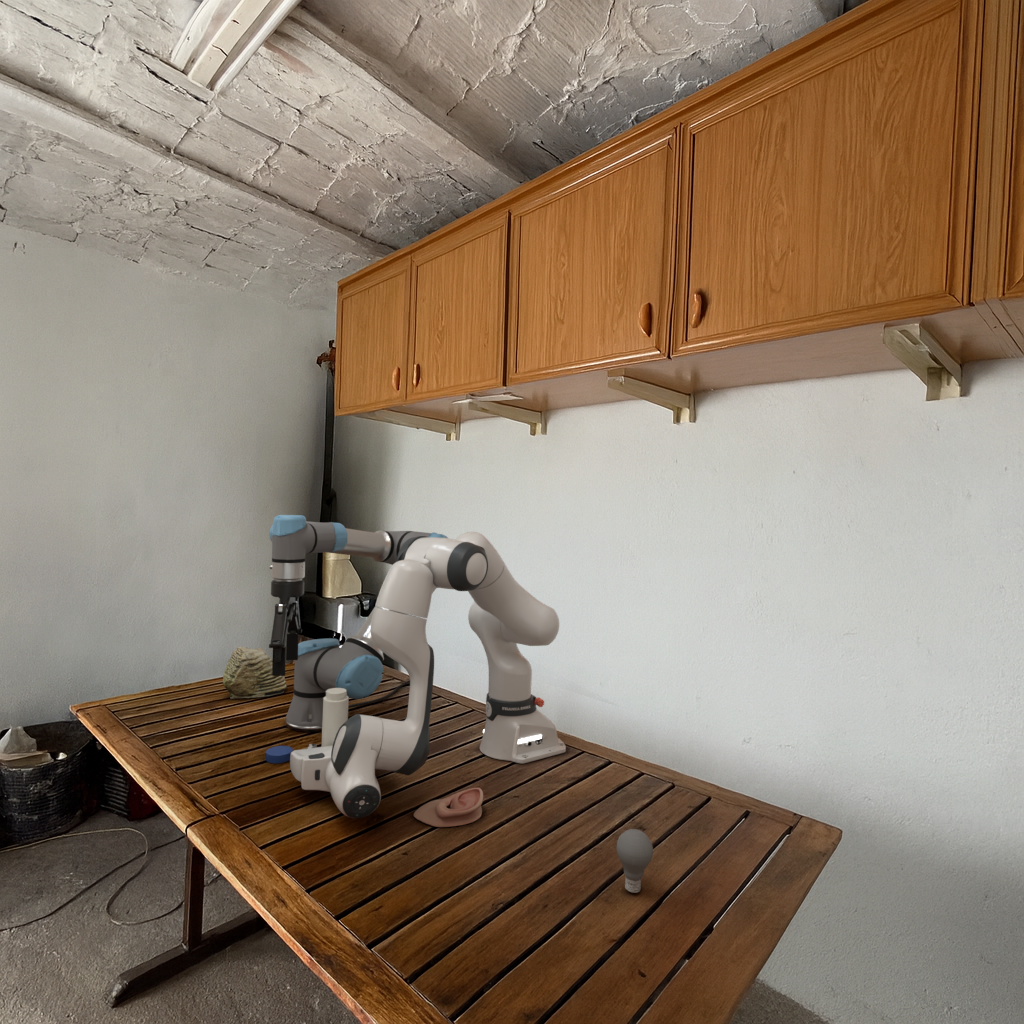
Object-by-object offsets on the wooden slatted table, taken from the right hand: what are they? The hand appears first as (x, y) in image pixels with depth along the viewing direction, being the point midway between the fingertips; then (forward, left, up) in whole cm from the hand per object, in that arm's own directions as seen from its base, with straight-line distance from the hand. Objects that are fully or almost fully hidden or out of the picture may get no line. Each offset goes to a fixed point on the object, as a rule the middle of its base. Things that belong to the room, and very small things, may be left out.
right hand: (333, 744), depth 145 cm
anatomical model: (-18, +27, -7) cm, 34 cm away
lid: (+10, -13, -5) cm, 17 cm away
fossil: (+13, -65, -7) cm, 66 cm away
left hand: (+9, -13, +15) cm, 22 cm away
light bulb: (-38, +62, -7) cm, 73 cm away
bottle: (0, +1, -7) cm, 7 cm away
